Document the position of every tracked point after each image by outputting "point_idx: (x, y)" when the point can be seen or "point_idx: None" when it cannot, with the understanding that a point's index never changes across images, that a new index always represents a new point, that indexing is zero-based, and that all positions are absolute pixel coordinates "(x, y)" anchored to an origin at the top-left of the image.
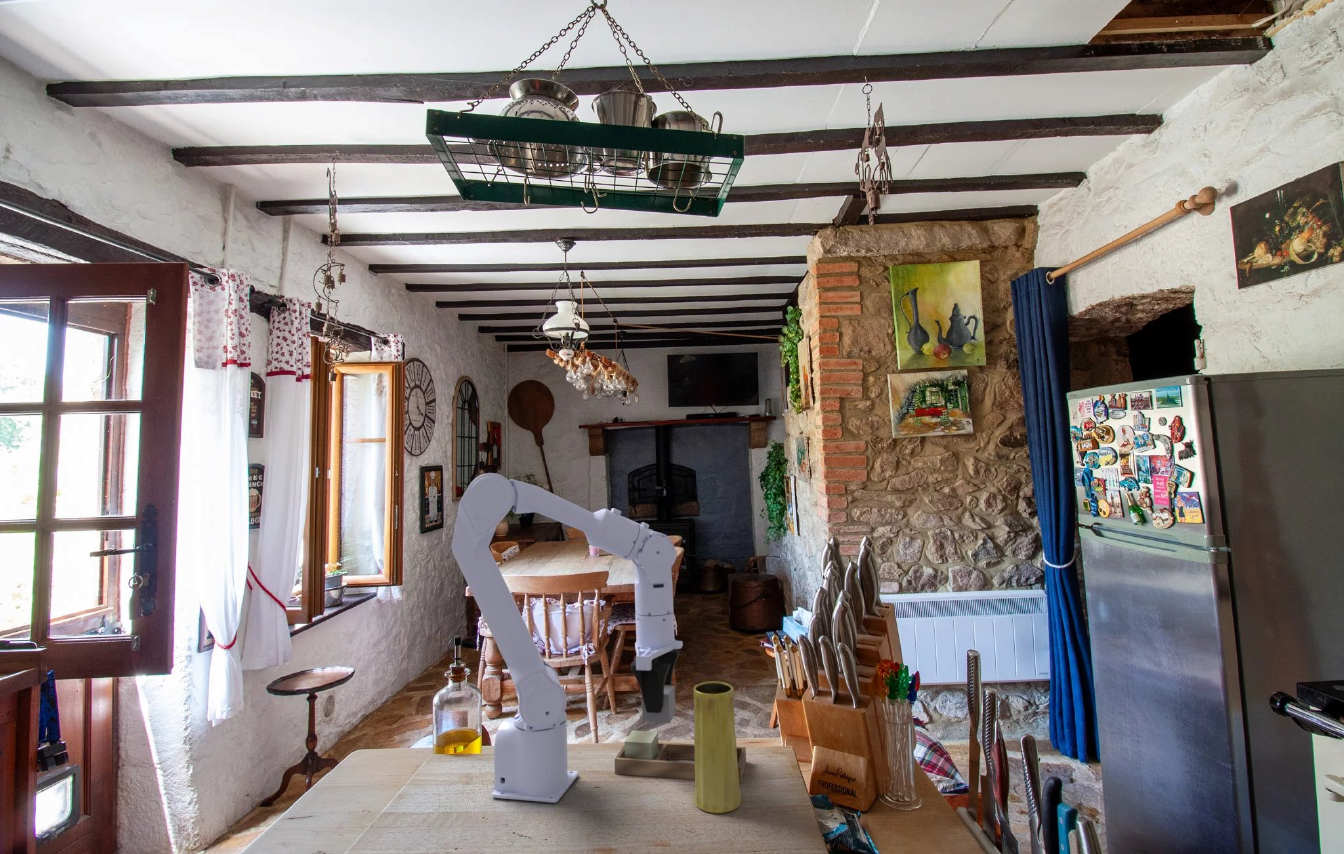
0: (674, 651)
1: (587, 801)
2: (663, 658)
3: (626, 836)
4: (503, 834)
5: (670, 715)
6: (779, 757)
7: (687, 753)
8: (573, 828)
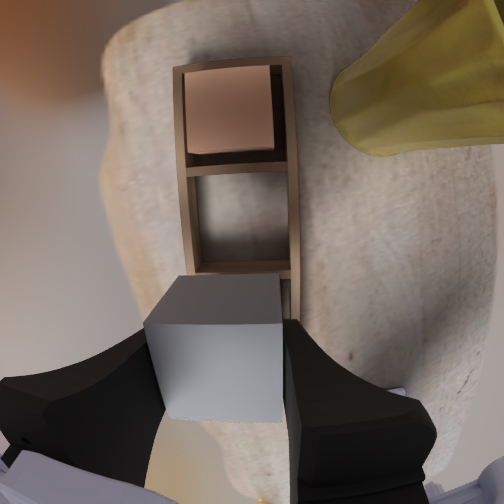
0: (31, 426)
1: (398, 350)
2: (100, 454)
3: (485, 252)
4: (460, 398)
5: (257, 281)
6: (152, 21)
7: (194, 215)
8: (463, 334)
